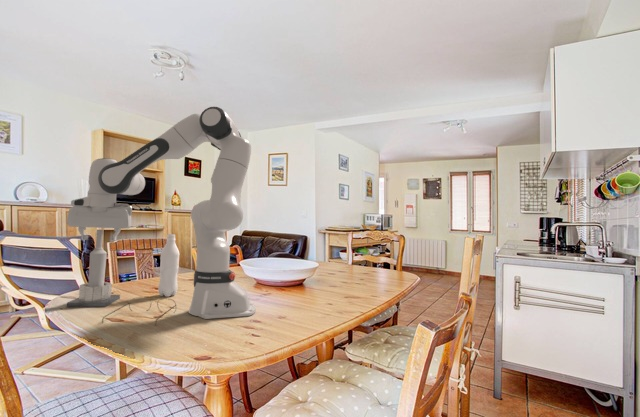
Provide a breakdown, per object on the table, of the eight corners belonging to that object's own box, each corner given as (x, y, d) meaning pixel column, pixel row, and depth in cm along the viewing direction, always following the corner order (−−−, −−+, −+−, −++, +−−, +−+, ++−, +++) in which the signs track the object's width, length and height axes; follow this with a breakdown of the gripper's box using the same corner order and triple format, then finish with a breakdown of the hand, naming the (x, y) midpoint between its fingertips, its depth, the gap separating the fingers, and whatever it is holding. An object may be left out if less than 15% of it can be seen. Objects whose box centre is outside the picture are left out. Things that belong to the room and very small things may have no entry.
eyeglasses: (177, 313, 110) (178, 298, 110) (155, 327, 95) (156, 310, 95) (130, 311, 110) (131, 296, 110) (101, 325, 95) (102, 308, 95)
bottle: (92, 300, 114) (97, 230, 115) (83, 298, 116) (88, 229, 117) (107, 297, 119) (111, 229, 120) (97, 296, 121) (102, 229, 122)
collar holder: (119, 298, 124) (120, 281, 124) (105, 306, 112) (106, 288, 113) (84, 298, 122) (86, 281, 122) (66, 307, 110) (67, 287, 110)
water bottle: (161, 293, 135) (165, 233, 136) (179, 293, 136) (183, 234, 137) (155, 297, 128) (158, 234, 129) (173, 297, 129) (177, 235, 130)
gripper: (135, 204, 124) (133, 240, 123) (75, 201, 120) (73, 238, 119) (129, 203, 118) (126, 241, 117) (65, 200, 114) (62, 239, 113)
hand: (99, 240), depth 118 cm, fingers open, 8 cm apart
